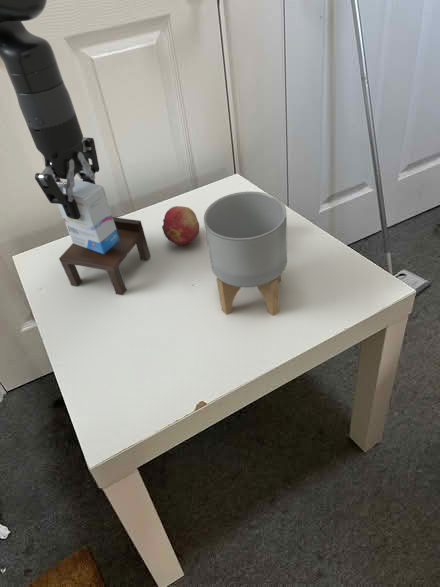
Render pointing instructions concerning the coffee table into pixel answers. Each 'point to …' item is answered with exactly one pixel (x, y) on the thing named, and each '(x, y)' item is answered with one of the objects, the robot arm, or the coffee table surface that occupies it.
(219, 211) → the planter
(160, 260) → the coffee table surface
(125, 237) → the small wooden stool
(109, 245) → the ink box
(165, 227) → the fruit
